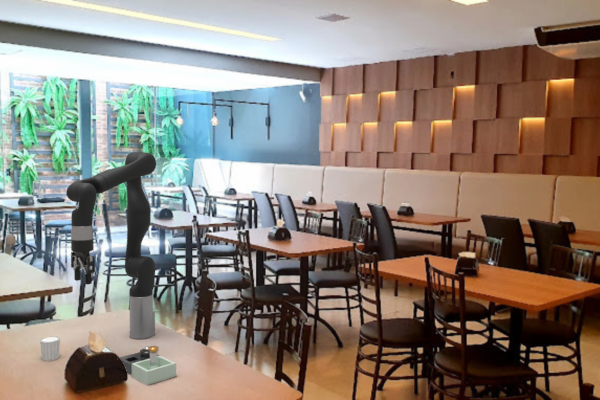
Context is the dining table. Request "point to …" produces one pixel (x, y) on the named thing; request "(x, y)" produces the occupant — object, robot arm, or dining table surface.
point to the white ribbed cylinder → (50, 348)
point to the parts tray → (153, 370)
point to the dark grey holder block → (135, 358)
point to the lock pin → (153, 357)
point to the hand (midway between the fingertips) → (83, 282)
